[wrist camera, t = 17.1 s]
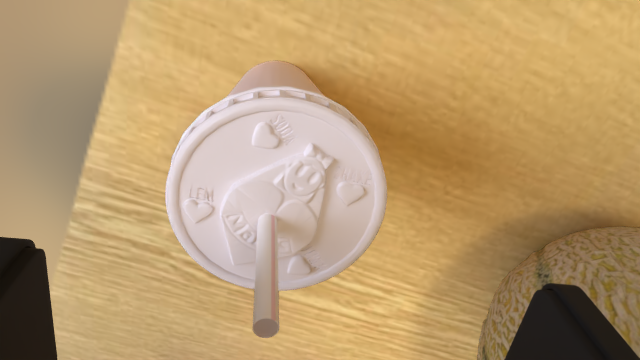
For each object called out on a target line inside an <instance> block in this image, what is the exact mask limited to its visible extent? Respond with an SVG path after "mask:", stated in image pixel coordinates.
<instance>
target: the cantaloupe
mask: <svg viewBox="0 0 640 360" xmlns="http://www.w3.org/2000/svg"><path fill="white" fill-rule="evenodd" d="M548 283H556V284H568V285H576V286H579V287H580V288H581V289H582V290H583V291H584V292H585V293H586V294H587V296H588V297H589V298H590V299H591V300H592V302H593V303H594V304H595V305H596V306H597V308H598V309H599V310H600V311H601V312H602V314H603V315H604V316H605V317H606V318H607V320H608V321H609V322H610V323H611V324H612V326H613V327H614V328H615V329H616V330H617V332H618V333H619V334H620V335H621V336H622V338H623V339H624V340H625V341H626V342H627V344H628V345H629V346H630V347H631V348H632V350H633V351H634V352H635V353H636V354H637V356H638V357H639V358H640V227H637V228H636V227H604V228H596V229H588V230H586V231H582V232H576V233H572V234H568V235H566V236H564V237H561V238H559V239H557V240H555V241H553V242H550V243H549V244H547V245H546V246H545V247H544V248H543V249H541V250H540V251H534V252H533V253H532V254H531V255H530V256H529V257H528V258H527V259H526V260H525V261H524V262H522V263H521V264H519V265H518V266H517V267H516V268H515V269H513V270H512V271H511V272H509V274H508V275H507V276H506V277H505V278H504V279H503V280H502V282H501V284H500V286H499V287H498V289H497V291H496V292H495V295H494V297H493V300H492V302H491V305H490V308H489V312H488V315H487V318H486V319H485V320H484V321H483V325H482V331H481V336H480V339H479V346H478V355H477V360H504V359H505V357H506V355H507V353H508V350H509V348H510V346H511V344H512V341H513V339H514V337H515V335H516V333H517V330H518V328H519V326H520V324H521V321H522V319H523V317H524V315H525V313H526V310H527V308H528V306H529V304H530V301H531V299H532V297H533V295H534V293H535V292H536V291H537V290H541V289H542V287H543V286H544V285H545V284H548Z"/></svg>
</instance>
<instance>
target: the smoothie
mask: <svg viewBox="0 0 640 360" xmlns="http://www.w3.org/2000/svg"><path fill="white" fill-rule="evenodd" d="M165 195H166V208H167V214H168V217H169V221H170V224H171V226H172V229H173V231H174V233H175V235H176V237H177V239H178V241H179V242H180V244H181V245H182V247H183V248H184V249H185V250H186V252H187V253H188V254H189V255H190V256H191V257H192V258H193V259H194V260H195V261H196V262H197V263H198V264H199V265H201V266H202V267H203V268H205V269H206V270H207V271H209V272H210V273H212V274H214V275H215V276H217V277H219V278H221V279H223V280H225V281H228V282H230V283H233V284H236V285H239V286H242V287H246V288H251V289H254V310H253V332H254V333H255V334H256V335H257V336H259V337H262V338H269V337H272V336H274V335H276V334H277V333H278V331H279V291H286V290H294V289H300V288H304V287H308V286H312V285H315V284H318V283H320V282H323V281H325V280H327V279H330V278H332V277H334V276H335V275H337V274H339V273H341V272H342V271H343V270H345V269H346V268H348V267H349V266H350V265H352V264H353V263H354V262H355V261H356V260H357V259H358V258H359V257H360V256H361V255H362V254H363V253H364V252H365V251H366V250H367V248H368V247H369V246H370V244H371V243H372V241H373V240H374V238H375V236H376V235H377V233H378V231H379V228H380V226H381V224H382V221H383V218H384V214H385V209H386V203H387V184H386V177H385V173H384V169H383V166H382V163H381V159H380V155H379V151H378V148H377V146H376V144H375V143H374V141H373V139H372V138H371V136H370V134H369V132H368V131H367V129H366V127H365V126H364V125H363V124H362V123H361V122H360V121H359V120H358V119H357V118H356V117H355V116H354V115H353V114H352V113H351V112H350V111H348V110H347V109H346V108H345V107H344V106H342V105H340V104H338V103H337V102H335V101H333V100H331V99H329V98H327V97H325V96H324V95H323V94H322V93H321V91H320V90H319V89H318V88H317V87H316V86H315V84H314V83H313V82H312V81H311V80H310V78H309V77H308V76H307V75H306V74H305V73H304V72H303V71H302V70H301V69H299V68H298V67H296V66H294V65H292V64H290V63H287V62H283V61H268V62H264V63H261V64H258V65H256V66H254V67H253V68H251V69H250V70H249V71H248V72H247V73H246V74H245V75H244V76H243V77H242V78H241V80H240V81H239V82H238V83H237V85H236V86H235V87H234V88H233V90H232V91H231V92H230V93H229V95H228V96H227V97H226V98H224V99H222V100H221V101H219V102H217V103H216V104H214V105H213V106H211V107H209V108H208V109H206V110H204V111H203V112H202V113H201V114H200V115H199V116H198V117H197V118H196V120H195V121H194V122H193V123H192V124H191V125H190V126H189V127H188V128H187V129H186V131H185V132H184V133H183V135H182V137H181V139H180V141H179V143H178V145H177V148H176V150H175V152H174V154H173V156H172V161H171V166H170V170H169V173H168V177H167V182H166V192H165Z"/></svg>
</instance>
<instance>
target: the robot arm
mask: <svg viewBox="0 0 640 360" xmlns="http://www.w3.org/2000/svg"><path fill="white" fill-rule="evenodd" d="M0 360H57V352H56V343H55V334H54V326H53V317H52V308H51V300H50V291H49V282H48V275H47V265H46V256H45V252H44V250H43V249H37V248H36V247H35V244H34V242H33V241H32V240H29V239H18V238H5V237H0ZM504 360H640V358H639V357H638V356H637V354H636V353H635V352H634V351H633V350H632V348H631V347H630V346H629V345H628V344H627V342H626V341H625V340H624V339H623V338H622V336H621V335H620V334H619V333H618V332H617V330H616V329H615V328H614V327H613V326H612V324H611V323H610V322H609V321H608V320H607V318H606V317H605V316H604V315H603V314H602V312H601V311H600V310H599V309H598V308H597V306H596V305H595V304H594V303H593V302H592V300H591V299H590V298H589V297H588V296H587V294H586V293H585V292H584V291H583V290H582V289H581V288H580V287H579V286H576V285H568V284H556V283H548V284H545V285H544V286H543V287H542V289H541V290H537V291H536V292H535V293H534V295H533V297H532V299H531V301H530V304H529V306H528V308H527V310H526V313H525V315H524V317H523V319H522V321H521V324H520V326H519V328H518V330H517V333H516V335H515V337H514V339H513V341H512V344H511V346H510V348H509V350H508V353H507V355H506V357H505V359H504Z"/></svg>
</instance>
